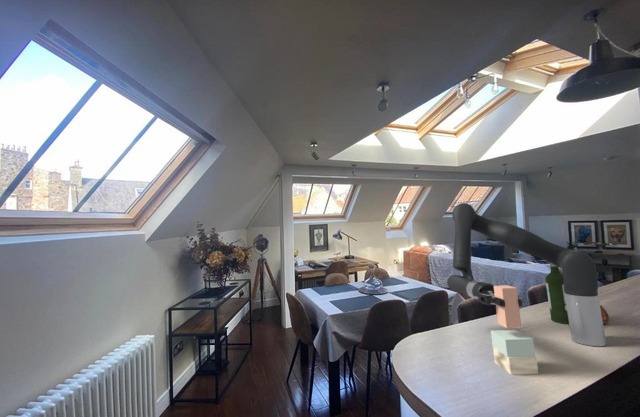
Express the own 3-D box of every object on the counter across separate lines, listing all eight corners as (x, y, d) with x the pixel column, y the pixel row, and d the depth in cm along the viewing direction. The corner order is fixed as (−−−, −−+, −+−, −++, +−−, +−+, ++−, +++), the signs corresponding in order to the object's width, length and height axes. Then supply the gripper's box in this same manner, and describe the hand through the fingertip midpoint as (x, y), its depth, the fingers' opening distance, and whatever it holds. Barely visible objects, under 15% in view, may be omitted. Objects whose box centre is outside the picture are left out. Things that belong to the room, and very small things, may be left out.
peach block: (497, 323, 87) (493, 285, 88) (511, 322, 87) (507, 285, 88) (506, 328, 83) (502, 288, 84) (521, 327, 83) (516, 287, 84)
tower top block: (492, 346, 88) (490, 330, 89) (517, 345, 88) (515, 329, 88) (507, 357, 80) (505, 339, 81) (535, 356, 80) (533, 338, 80)
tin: (611, 326, 112) (607, 306, 113) (602, 326, 113) (599, 306, 114) (584, 316, 127) (581, 298, 128) (576, 316, 127) (573, 298, 128)
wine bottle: (576, 325, 116) (565, 255, 119) (553, 323, 120) (543, 255, 123) (572, 319, 122) (561, 253, 126) (549, 318, 127) (540, 254, 130)
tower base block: (494, 362, 87) (492, 346, 88) (519, 362, 87) (517, 345, 88) (511, 375, 80) (508, 357, 80) (538, 374, 79) (536, 356, 80)
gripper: (461, 282, 101) (487, 291, 84) (500, 280, 100) (534, 290, 83) (463, 302, 100) (490, 316, 83) (502, 301, 99) (537, 315, 82)
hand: (512, 303), depth 83 cm, fingers closed on peach block, 4 cm apart
